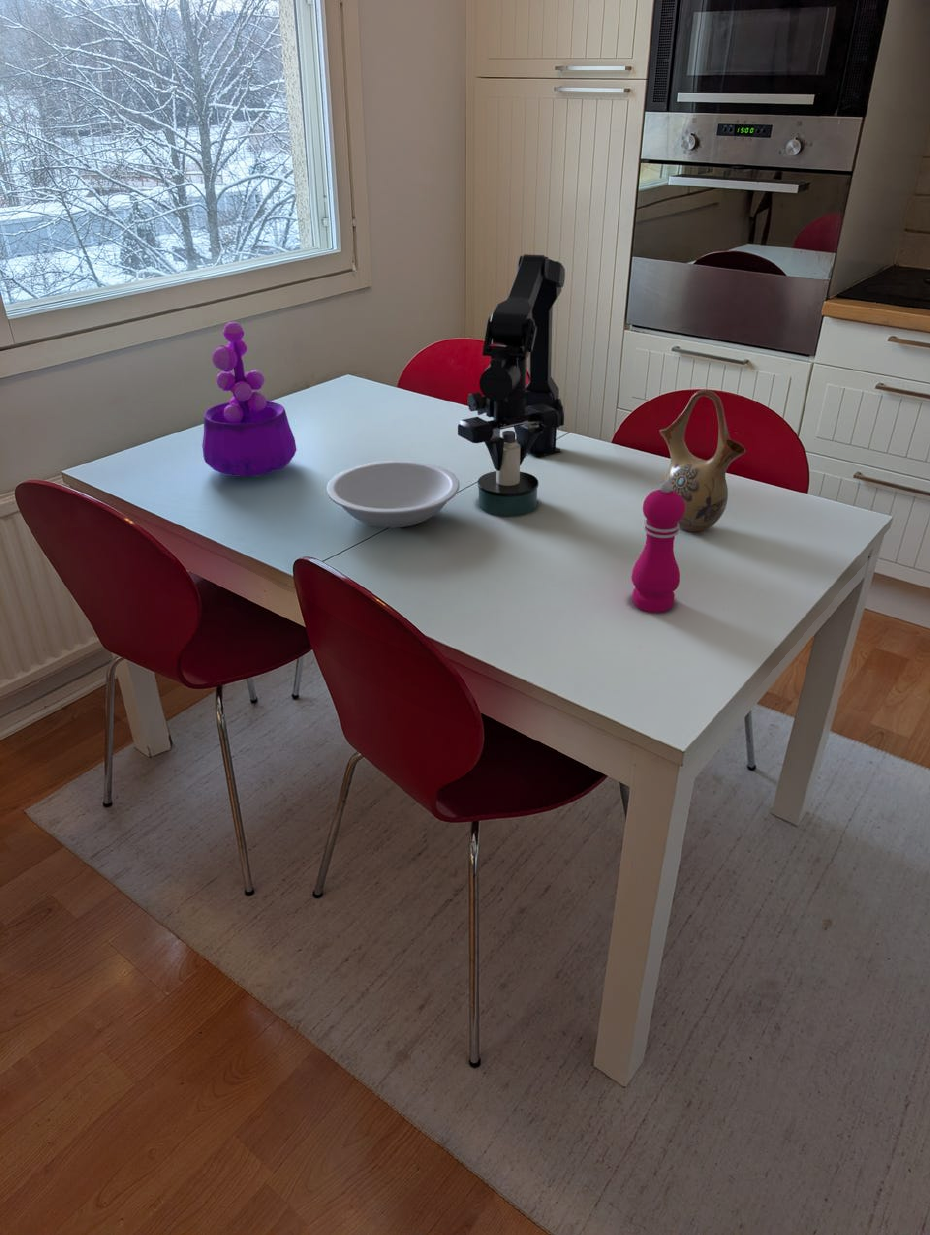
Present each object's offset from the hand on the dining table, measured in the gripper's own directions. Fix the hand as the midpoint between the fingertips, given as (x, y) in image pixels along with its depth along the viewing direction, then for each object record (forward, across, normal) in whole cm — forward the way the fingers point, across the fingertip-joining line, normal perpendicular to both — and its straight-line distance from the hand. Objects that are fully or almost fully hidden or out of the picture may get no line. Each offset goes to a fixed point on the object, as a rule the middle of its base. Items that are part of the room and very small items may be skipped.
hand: (508, 467), depth 166 cm
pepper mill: (+8, +2, +43) cm, 44 cm away
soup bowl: (+8, +21, -6) cm, 23 cm away
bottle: (+3, 0, 0) cm, 3 cm away
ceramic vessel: (+8, -22, +26) cm, 35 cm away
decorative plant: (+8, +35, -43) cm, 56 cm away
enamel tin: (+7, 0, 0) cm, 7 cm away
